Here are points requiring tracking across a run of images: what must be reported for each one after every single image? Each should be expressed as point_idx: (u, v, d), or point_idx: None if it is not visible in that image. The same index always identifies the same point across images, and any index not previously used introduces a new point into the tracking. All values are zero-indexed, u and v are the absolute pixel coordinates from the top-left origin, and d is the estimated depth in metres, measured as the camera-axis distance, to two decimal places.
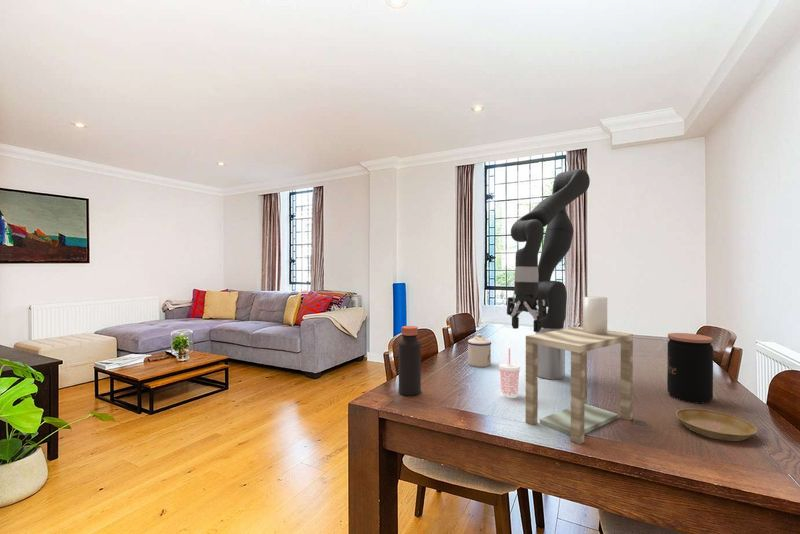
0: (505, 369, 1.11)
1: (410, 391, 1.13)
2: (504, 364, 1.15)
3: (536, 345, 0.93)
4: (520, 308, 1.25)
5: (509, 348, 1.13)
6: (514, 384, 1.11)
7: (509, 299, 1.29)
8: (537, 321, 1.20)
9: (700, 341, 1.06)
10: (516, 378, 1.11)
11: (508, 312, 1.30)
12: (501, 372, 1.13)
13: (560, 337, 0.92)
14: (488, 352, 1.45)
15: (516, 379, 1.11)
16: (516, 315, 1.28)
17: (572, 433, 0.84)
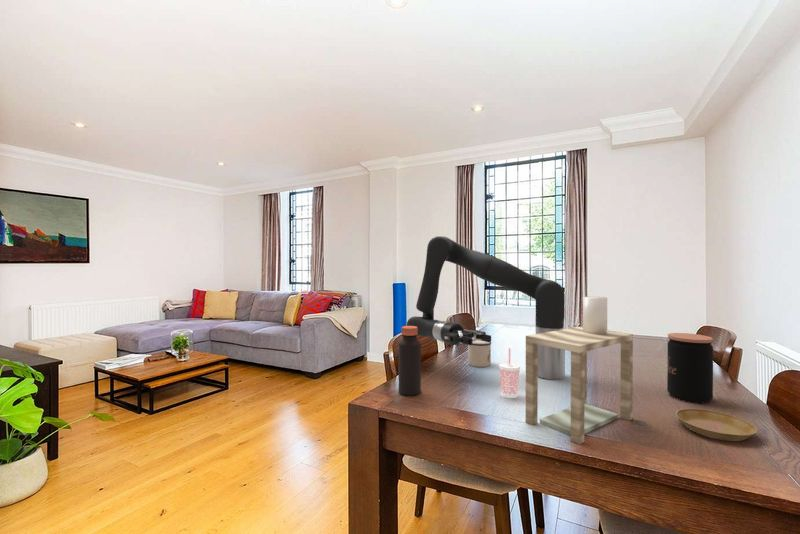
0: (505, 369, 1.11)
1: (410, 391, 1.13)
2: (504, 364, 1.15)
3: (536, 345, 0.93)
4: None
5: (509, 348, 1.13)
6: (514, 384, 1.11)
7: (473, 337, 1.34)
8: (462, 342, 1.22)
9: (700, 341, 1.06)
10: (516, 378, 1.11)
11: None
12: (501, 372, 1.13)
13: (560, 337, 0.92)
14: (488, 352, 1.45)
15: (516, 379, 1.11)
16: (480, 336, 1.28)
17: (572, 433, 0.84)
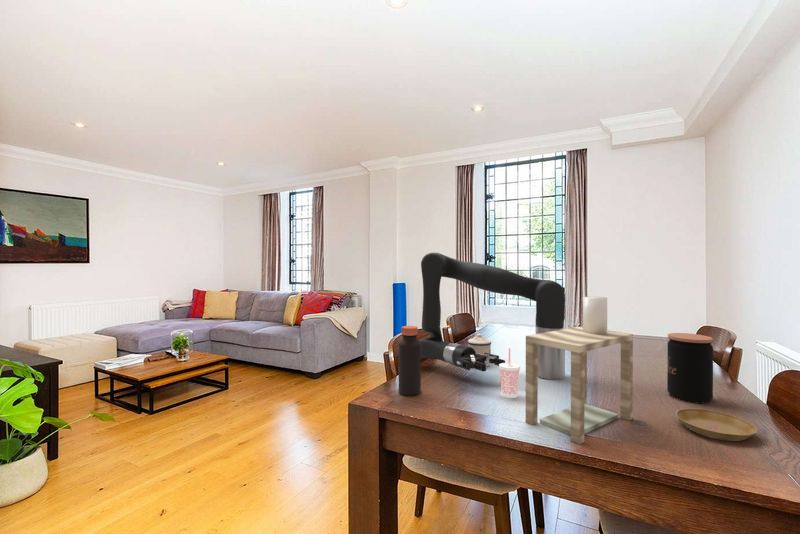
0: (505, 369, 1.11)
1: (410, 391, 1.13)
2: (504, 364, 1.15)
3: (536, 345, 0.93)
4: None
5: (509, 348, 1.13)
6: (514, 384, 1.11)
7: None
8: None
9: (700, 341, 1.06)
10: (516, 378, 1.11)
11: None
12: (501, 372, 1.13)
13: (560, 337, 0.92)
14: (488, 352, 1.45)
15: (516, 379, 1.11)
16: (493, 360, 1.24)
17: (572, 433, 0.84)
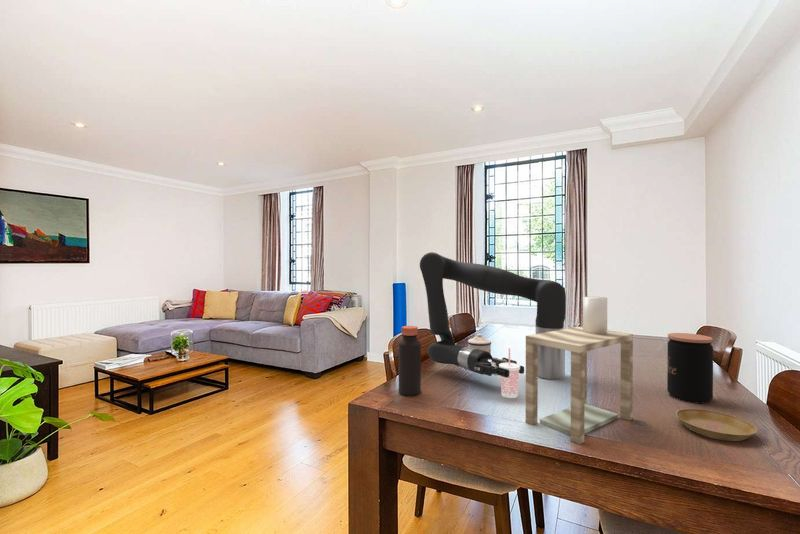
0: None
1: (410, 391, 1.13)
2: (504, 364, 1.15)
3: (536, 345, 0.93)
4: None
5: (509, 348, 1.13)
6: (514, 384, 1.11)
7: None
8: (497, 373, 1.12)
9: (700, 341, 1.06)
10: (516, 378, 1.11)
11: None
12: None
13: (560, 337, 0.92)
14: None
15: (516, 379, 1.11)
16: None
17: (572, 433, 0.84)
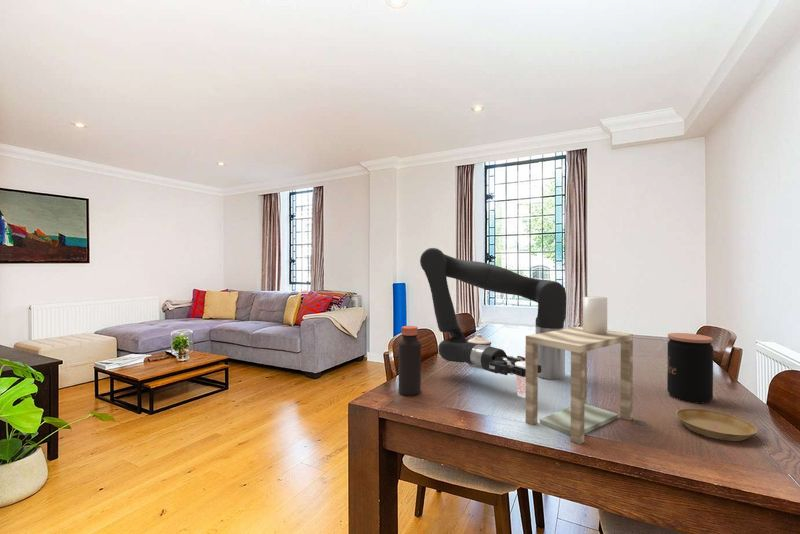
0: None
1: (410, 391, 1.13)
2: (520, 363, 1.10)
3: (536, 345, 0.93)
4: None
5: None
6: None
7: None
8: (513, 373, 1.07)
9: (700, 341, 1.06)
10: None
11: None
12: None
13: (560, 337, 0.92)
14: None
15: None
16: None
17: (572, 433, 0.84)
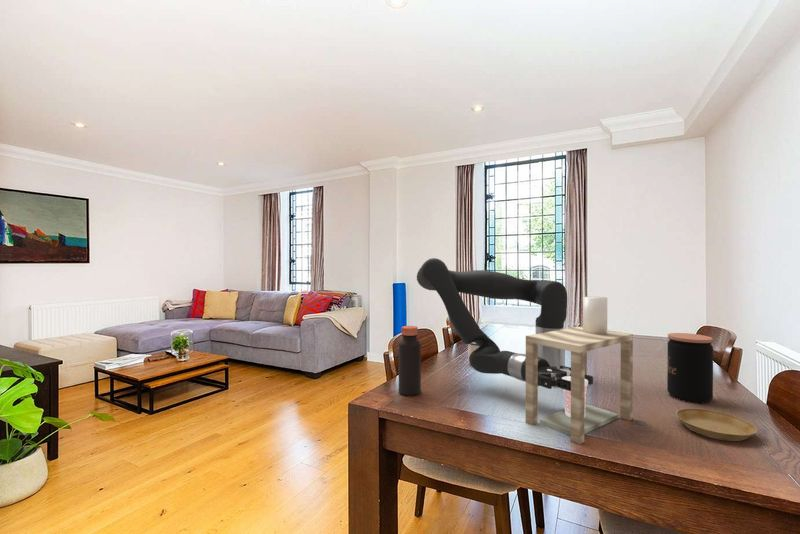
0: None
1: (410, 391, 1.13)
2: (567, 378, 0.97)
3: (536, 345, 0.93)
4: None
5: None
6: None
7: None
8: None
9: (700, 341, 1.06)
10: (584, 395, 0.94)
11: None
12: None
13: (560, 337, 0.92)
14: None
15: (584, 396, 0.94)
16: None
17: (572, 433, 0.84)
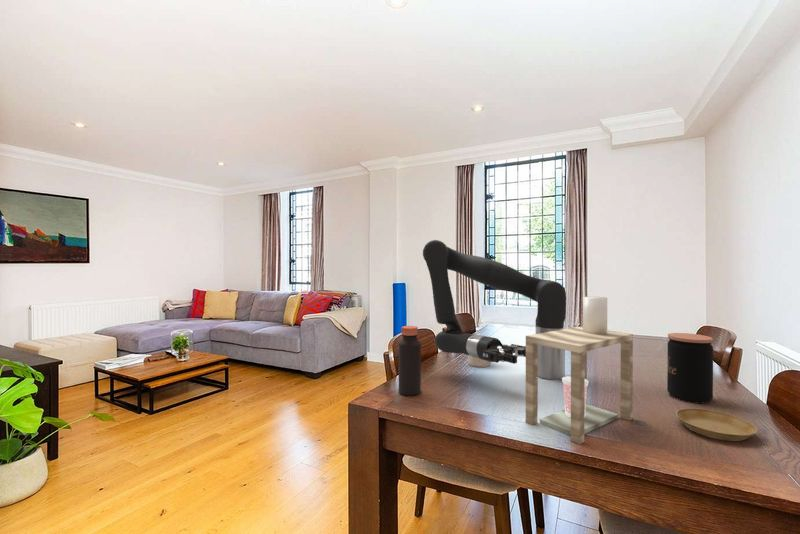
0: None
1: (410, 391, 1.13)
2: (568, 378, 0.97)
3: (536, 345, 0.93)
4: None
5: None
6: None
7: None
8: None
9: (700, 341, 1.06)
10: (585, 395, 0.94)
11: None
12: (566, 388, 0.95)
13: (560, 337, 0.92)
14: None
15: (584, 396, 0.94)
16: (522, 351, 1.15)
17: (572, 433, 0.84)
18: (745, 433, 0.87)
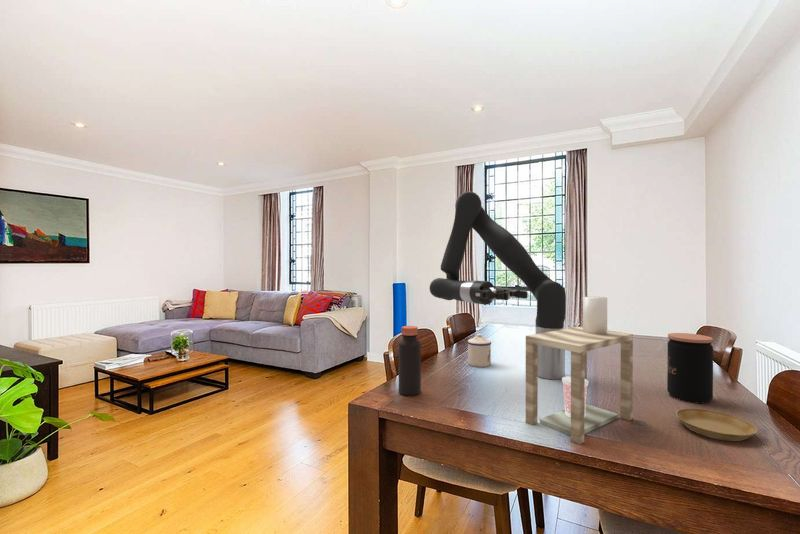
0: None
1: (410, 391, 1.13)
2: (568, 378, 0.97)
3: (536, 345, 0.93)
4: None
5: None
6: None
7: None
8: (496, 297, 1.11)
9: (700, 341, 1.06)
10: (584, 395, 0.94)
11: None
12: (566, 388, 0.95)
13: (560, 337, 0.92)
14: (488, 352, 1.45)
15: (584, 396, 0.94)
16: (514, 293, 1.17)
17: (572, 433, 0.84)
18: (745, 433, 0.87)
